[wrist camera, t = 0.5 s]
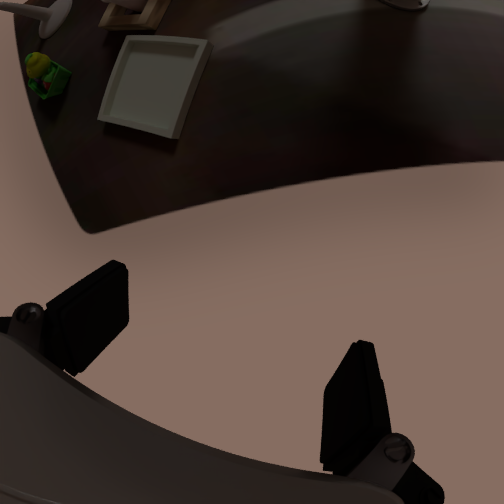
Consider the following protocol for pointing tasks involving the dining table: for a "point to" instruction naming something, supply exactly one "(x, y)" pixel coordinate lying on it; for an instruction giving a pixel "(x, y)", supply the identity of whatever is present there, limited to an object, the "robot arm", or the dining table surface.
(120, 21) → the holder
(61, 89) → the fruit basket
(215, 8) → the dining table surface
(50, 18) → the candlestick
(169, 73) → the tray
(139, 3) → the smoothie
